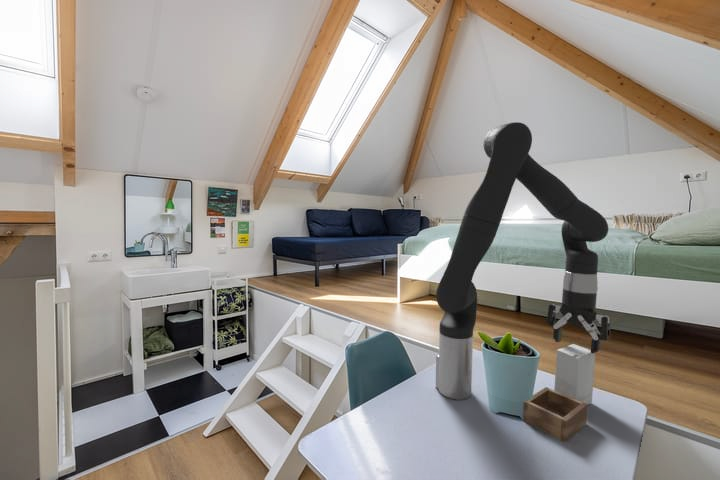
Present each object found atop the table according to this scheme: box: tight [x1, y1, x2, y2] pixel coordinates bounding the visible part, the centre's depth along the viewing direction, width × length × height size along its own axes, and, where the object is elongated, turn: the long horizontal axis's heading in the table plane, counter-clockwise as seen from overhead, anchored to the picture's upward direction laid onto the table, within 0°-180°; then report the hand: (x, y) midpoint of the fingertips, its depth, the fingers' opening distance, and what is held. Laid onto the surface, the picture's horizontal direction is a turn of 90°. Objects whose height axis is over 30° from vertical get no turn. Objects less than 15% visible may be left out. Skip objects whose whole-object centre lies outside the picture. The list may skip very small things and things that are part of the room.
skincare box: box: [553, 343, 596, 406], centre depth 85 cm, size 8×6×15 cm
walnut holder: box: [522, 386, 588, 444], centre depth 77 cm, size 10×12×5 cm
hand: (575, 346), depth 85 cm, fingers open, 8 cm apart
